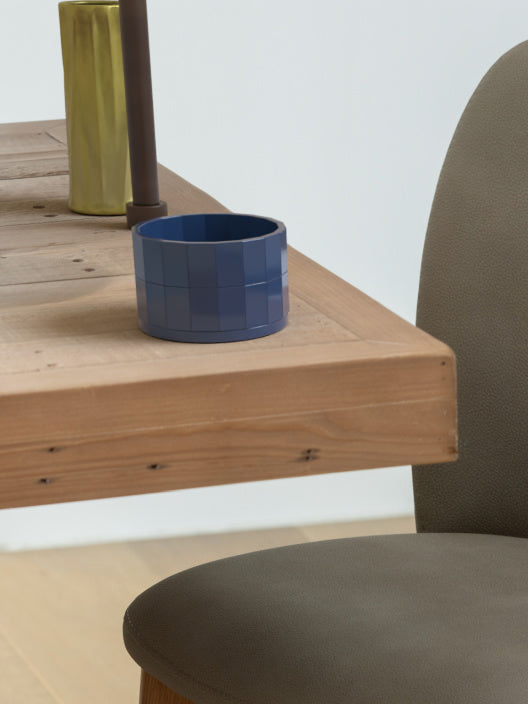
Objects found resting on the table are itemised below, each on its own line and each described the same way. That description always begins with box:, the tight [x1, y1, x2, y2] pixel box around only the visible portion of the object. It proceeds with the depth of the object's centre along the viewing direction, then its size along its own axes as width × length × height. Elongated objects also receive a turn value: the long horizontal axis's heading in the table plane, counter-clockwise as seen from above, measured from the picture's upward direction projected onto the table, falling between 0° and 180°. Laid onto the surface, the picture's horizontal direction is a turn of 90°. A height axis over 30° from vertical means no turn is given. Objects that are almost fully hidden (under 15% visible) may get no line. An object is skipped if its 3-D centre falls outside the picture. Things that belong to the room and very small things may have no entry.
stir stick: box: [117, 0, 169, 229], centre depth 105 cm, size 3×3×15 cm
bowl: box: [130, 212, 290, 344], centre depth 83 cm, size 8×8×5 cm
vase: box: [57, 0, 133, 216], centre depth 111 cm, size 6×6×14 cm
